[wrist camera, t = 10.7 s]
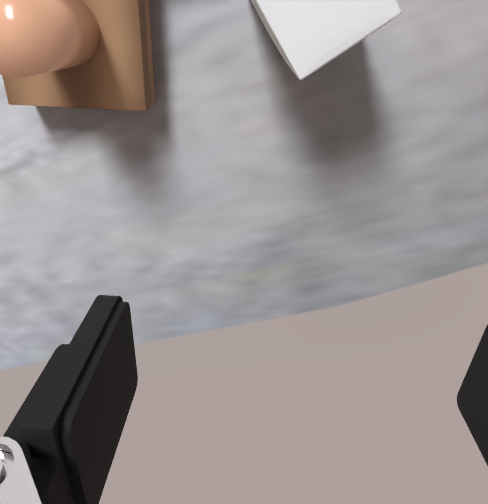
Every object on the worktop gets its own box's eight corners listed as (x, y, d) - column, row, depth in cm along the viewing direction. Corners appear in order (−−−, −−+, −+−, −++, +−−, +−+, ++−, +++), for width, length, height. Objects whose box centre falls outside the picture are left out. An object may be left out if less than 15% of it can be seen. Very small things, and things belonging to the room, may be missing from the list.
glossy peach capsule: (94, -7, 32) (39, -17, 24) (103, 66, 35) (57, 79, 27) (27, -9, 32) (-48, -19, 24) (42, 65, 35) (-23, 76, 27)
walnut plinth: (146, -51, 34) (133, -59, 31) (155, 102, 40) (145, 111, 37) (-1, -59, 34) (-30, -67, 31) (30, 96, 40) (9, 104, 37)
